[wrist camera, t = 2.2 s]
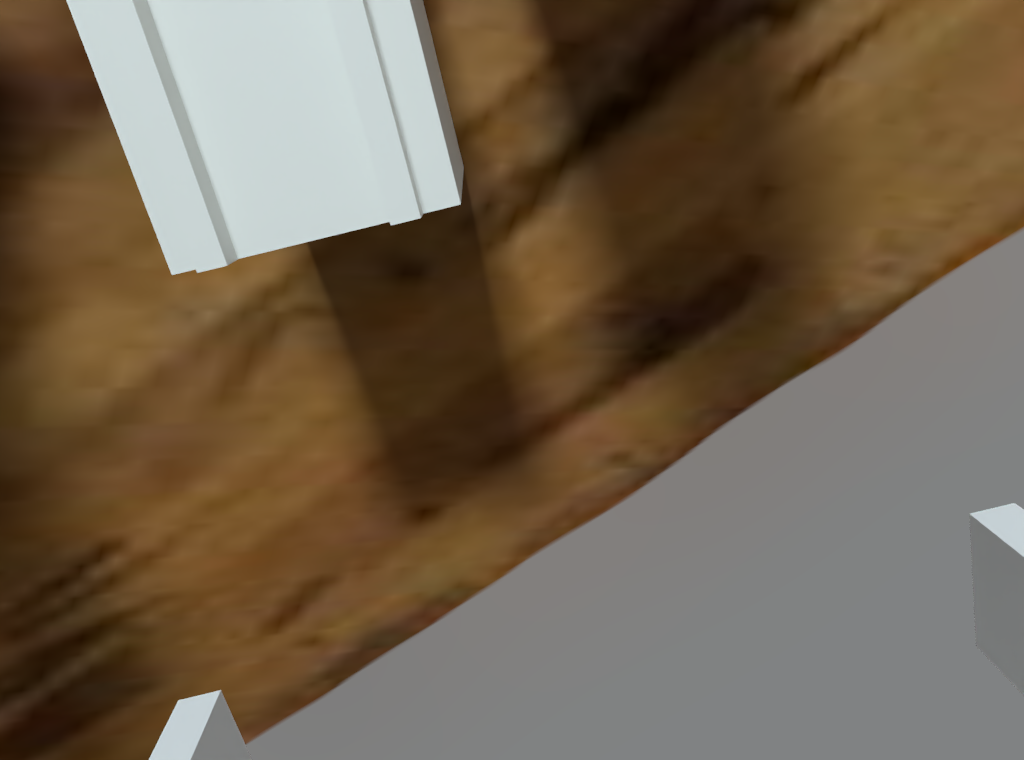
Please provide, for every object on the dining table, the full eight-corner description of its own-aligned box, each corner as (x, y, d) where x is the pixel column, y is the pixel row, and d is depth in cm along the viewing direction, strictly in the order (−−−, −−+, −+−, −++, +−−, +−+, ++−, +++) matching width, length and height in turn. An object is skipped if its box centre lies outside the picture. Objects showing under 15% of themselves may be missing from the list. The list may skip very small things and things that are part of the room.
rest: (294, 209, 45) (158, 282, 25) (186, -127, 39) (-97, -370, 19) (463, 167, 44) (460, 208, 25) (379, -176, 39) (289, -474, 19)
